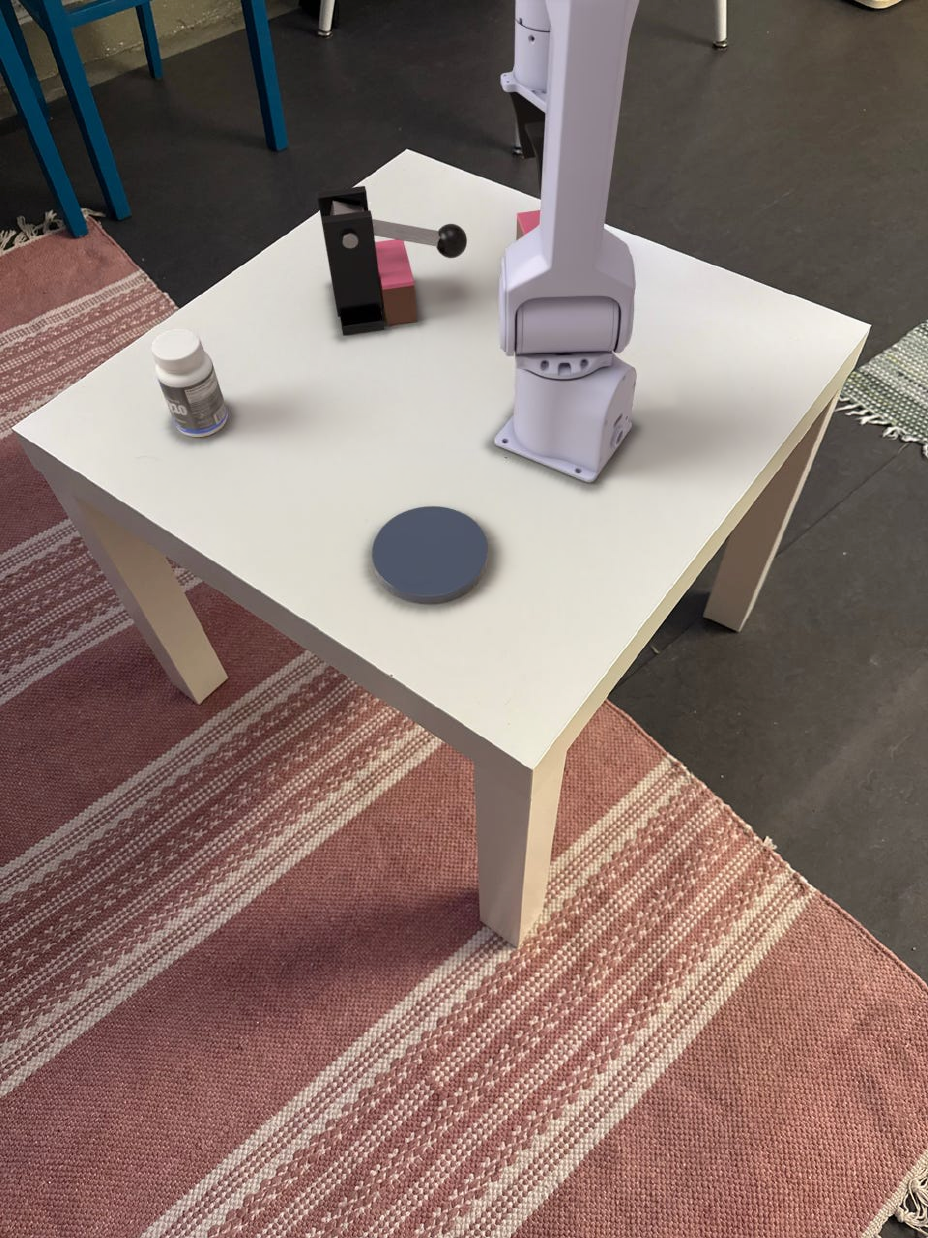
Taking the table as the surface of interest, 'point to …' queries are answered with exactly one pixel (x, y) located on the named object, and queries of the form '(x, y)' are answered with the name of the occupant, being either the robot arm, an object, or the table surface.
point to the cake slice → (527, 222)
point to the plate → (430, 554)
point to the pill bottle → (189, 383)
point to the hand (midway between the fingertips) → (543, 176)
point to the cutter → (414, 232)
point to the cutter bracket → (352, 261)
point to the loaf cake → (396, 282)
